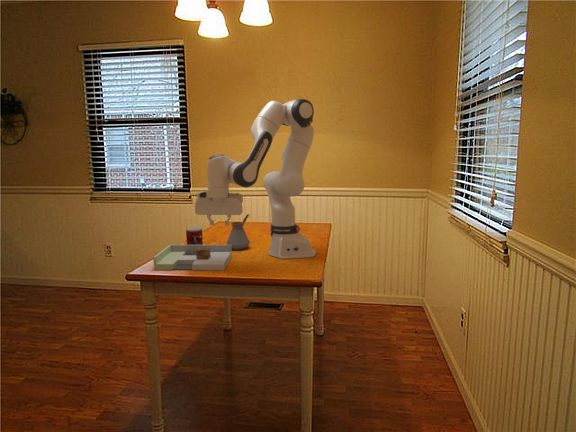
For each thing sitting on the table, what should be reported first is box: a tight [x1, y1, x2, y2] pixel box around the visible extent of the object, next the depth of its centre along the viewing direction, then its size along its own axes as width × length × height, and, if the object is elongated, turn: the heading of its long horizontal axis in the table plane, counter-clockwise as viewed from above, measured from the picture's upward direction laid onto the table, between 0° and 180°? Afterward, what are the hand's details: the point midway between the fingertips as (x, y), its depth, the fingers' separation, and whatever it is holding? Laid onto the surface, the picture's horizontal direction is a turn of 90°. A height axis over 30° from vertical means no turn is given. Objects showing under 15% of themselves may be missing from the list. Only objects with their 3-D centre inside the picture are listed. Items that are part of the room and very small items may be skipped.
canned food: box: [185, 226, 204, 245], centre depth 196 cm, size 8×8×11 cm
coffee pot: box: [226, 213, 250, 251], centre depth 204 cm, size 21×12×15 cm, turn 164°
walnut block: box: [196, 247, 211, 259], centre depth 175 cm, size 5×5×4 cm
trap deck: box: [152, 244, 233, 271], centre depth 175 cm, size 29×21×6 cm
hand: (219, 224), depth 172 cm, fingers open, 5 cm apart
